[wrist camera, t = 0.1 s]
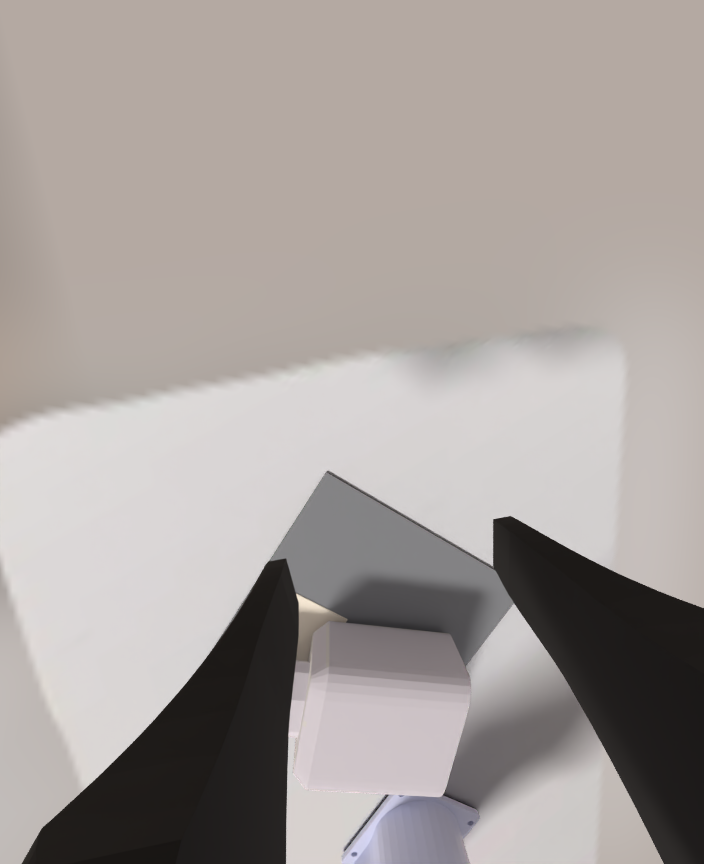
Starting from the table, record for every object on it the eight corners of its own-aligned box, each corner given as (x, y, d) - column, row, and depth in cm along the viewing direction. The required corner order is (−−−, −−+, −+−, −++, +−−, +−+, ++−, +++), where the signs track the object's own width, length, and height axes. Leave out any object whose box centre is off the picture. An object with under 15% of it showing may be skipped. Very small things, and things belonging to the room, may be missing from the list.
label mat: (389, 762, 26) (390, 765, 26) (194, 678, 24) (193, 680, 23) (524, 587, 24) (525, 588, 24) (326, 471, 21) (326, 472, 21)
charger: (239, 603, 23) (447, 626, 24) (224, 714, 24) (420, 728, 26) (215, 664, 18) (475, 687, 19) (199, 796, 20) (441, 808, 21)
